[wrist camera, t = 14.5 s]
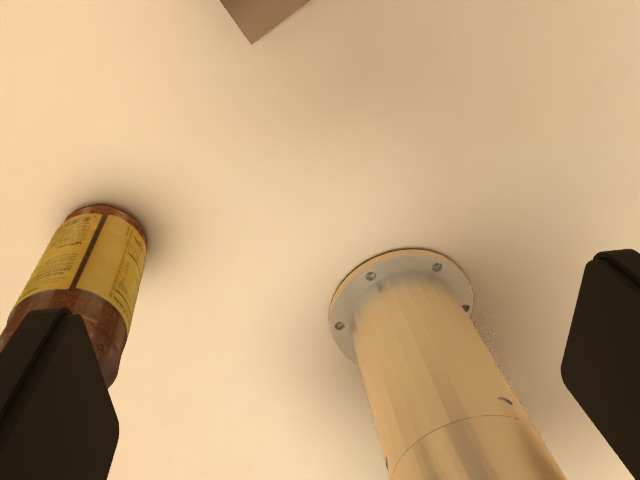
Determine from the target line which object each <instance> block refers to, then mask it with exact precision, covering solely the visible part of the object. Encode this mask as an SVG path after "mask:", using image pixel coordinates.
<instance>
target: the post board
mask: <svg viewBox="0 0 640 480" xmlns="http://www.w3.org/2000/svg"><path fill="white" fill-rule="evenodd" d="M220 1H221V3H222V4H223V6H224V7H225V8H226V10H227V11H228V13H229V14H230V15H231V17H232V18H233V20H234V21H235V22H236V24H237V25H238V27H239V28H240V29H241V31H242V32H243V34H244V35H245V37H246V38H247V39H248V41H249V42H250V44H251V45H252V44H253V43H254V42H256V41H257V40H258V39H260V38H261V37H262V36H264V35H265V34H266V33H268V32H269V31H270V30H271V29H273V28H274V27H275V26H277V25H278V24H279V23H281V22H282V21H283V20H285V19H286V18H287V17H289V16H290V15H291V14H292V13H294V12H295V11H296V10H298V9H299V8H300V7H302V6H303V5H304V4H306V3H307V2H308V1H310V0H220Z"/></svg>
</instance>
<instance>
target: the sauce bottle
mask: <svg viewBox="0 0 640 480" xmlns="http://www.w3.org/2000/svg"><path fill="white" fill-rule="evenodd" d="M145 261H146V241H145V237H144V234H143V232H142V229H141V227H140V225H139V224H138V222H137V221H136V220H135V219H133V218H132V217H130V216H129V215H128V214H126V213H124V212H122V211H120V210H117V209H114V208H112V207H109V206H101V205H95V206H88V207H86V208H83V209H79V210H77V211H75V212H73V213H72V214H70V215H69V216H68V217H67V218H66V220H65V222H64V223H63V224H62V225H61V226H60V227H59V228H58V229H57V231H56V232H55V234H54V236H53V237H52V239H51V241H50V243H49V244H48V246H47V248H46V250H45V252H44V254H43V255H42V257H41V259H40V261H39V263H38V264H37V266H36V268H35V270H34V272H33V273H32V275H31V277H30V279H29V281H28V283H27V284H26V286H25V288H24V290H23V292H22V293H21V295H20V297H19V299H18V300H17V302H16V304H15V306H14V307H13V309H12V311H11V313H10V315H9V317H8V320H7V325H6V327H5V329H4V330H3V332H2V334H1V336H0V353H1V351H2V350H3V348H4V347H5V345H6V344H7V342H8V341H9V339H10V338H11V336H12V335H13V333H14V332H15V331H16V329H17V328H18V326H19V325H20V323H21V322H22V320H23V319H24V317H25V316H26V314H27V313H28V312H29V311H32V310H38V309H48V308H57V307H67V308H69V309H70V311H71V312H72V314H80V315H81V316H82V318H83V320H84V323H85V326H86V329H87V331H88V334H89V337H90V340H91V343H92V346H93V349H94V352H95V355H96V358H97V360H98V363H99V366H100V369H101V372H102V375H103V378H104V381H105V384H106V387H107V389H108V388H109V387H110V386H111V385H112V384H113V382H114V381H115V379H116V377H117V374H118V369H119V364H120V359H121V355H122V352H123V350H124V347H125V344H126V341H127V337H128V334H129V330H130V325H131V321H132V317H133V312H134V308H135V304H136V300H137V295H138V291H139V286H140V282H141V278H142V274H143V270H144V265H145Z"/></svg>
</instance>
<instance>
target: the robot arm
mask: <svg viewBox="0 0 640 480" xmlns="http://www.w3.org/2000/svg"><path fill="white" fill-rule="evenodd" d="M472 311H473V293H472V288H471V286H470V284H469V282H468V280H467V278H466V276H465V275H464V273H463V272H462V271H461V269H460V268H459V267H458V266H457V265H456V264H455V263H454V262H452V261H451V260H449V259H448V258H446V257H444V256H442V255H440V254H437V253H434V252H431V251H425V250H417V249H412V250H399V251H394V252H390V253H386V254H383V255H381V256H378V257H375V258H373V259H371V260H369V261H368V262H366V263H364V264H362V265H361V266H359V267H358V268H357V269H356V270H354V271H353V272H352V273H351V274H349V276H348V277H347V278H346V279H345V280H344V281H343V282H342V283H341V285H340V286H339V288H338V290H337V291H336V293H335V295H334V297H333V300H332V303H331V306H330V312H329V322H330V329H331V333H332V336H333V340H334V341H335V343H336V345H337V347H338V349H339V350H340V351H341V352H342V353H343V354H344V355H345V356H346V357H348V358H349V359H351V360H352V361H353V362H355V363H357V364H359V367H360V371H361V374H362V378H363V382H364V385H365V389H366V393H367V396H368V400H369V404H370V407H371V411H372V415H373V418H374V422H375V425H376V429H377V433H378V436H379V440H380V444H381V447H382V451H383V455H384V459H385V462H386V466H387V470H388V473H389V476H390V480H567V479H566V477H565V476H564V474H563V472H562V471H561V469H560V468H559V466H558V464H557V463H556V461H555V459H554V458H553V456H552V455H551V453H550V451H549V450H548V448H547V446H546V445H545V443H544V441H543V440H542V438H541V436H540V435H539V433H538V431H537V430H536V428H535V427H534V425H533V423H532V422H531V420H530V418H529V417H528V415H527V413H526V412H525V410H524V408H523V407H522V405H521V403H520V402H519V400H518V398H517V397H516V395H515V393H514V392H513V390H512V388H511V387H510V385H509V383H508V382H507V380H506V379H505V377H504V375H503V374H502V372H501V370H500V369H499V367H498V365H497V364H496V362H495V360H494V359H493V357H492V355H491V354H490V352H489V350H488V349H487V347H486V345H485V344H484V342H483V340H482V339H481V337H480V335H479V334H478V332H477V331H476V329H475V327H474V326H473V324H472V322H471V321H470V318H471V314H472ZM561 376H562V379H563V382H564V384H565V386H566V387H567V389H568V390H569V391H570V393H571V394H572V395H573V397H574V398H575V399H576V401H577V402H578V403H579V405H580V406H581V407H582V409H583V410H584V411H585V413H586V414H587V415H588V417H589V418H590V419H591V421H592V422H593V423H594V425H595V426H596V427H597V429H598V430H599V431H600V433H601V434H602V435H603V437H604V438H605V439H606V441H607V442H608V443H609V445H610V446H611V447H612V449H613V450H614V451H615V453H616V454H617V455H618V457H619V458H620V459H621V461H622V462H623V464H624V465H625V466H626V468H627V469H628V470H629V472H630V473H631V474H632V476H633V477H634V478H635V480H640V254H639V253H638V252H637V251H635V250H633V249H623V250H613V251H604V252H599V253H597V254H596V255H595V256H594V258H593V260H591V261H589V262H588V263H587V264H586V267H585V270H584V274H583V278H582V282H581V286H580V290H579V295H578V299H577V303H576V307H575V311H574V315H573V319H572V323H571V327H570V332H569V336H568V340H567V344H566V348H565V352H564V356H563V360H562V364H561ZM118 438H119V422H118V419H117V416H116V413H115V410H114V407H113V404H112V401H111V398H110V395H109V392H108V389H107V387H106V384H105V381H104V378H103V375H102V372H101V369H100V366H99V363H98V360H97V358H96V355H95V352H94V349H93V346H92V343H91V340H90V337H89V334H88V331H87V329H86V326H85V323H84V320H83V318H82V316H81V315H80V314H72V312H71V311H70V309H69V308H67V307H57V308H48V309H38V310H32V311H29V312H28V313H27V314H26V316H25V317H24V319H23V320H22V322H21V323H20V325H19V326H18V328H17V329H16V331H15V332H14V333H13V335H12V336H11V338H10V339H9V341H8V342H7V344H6V345H5V347H4V348H3V350H2V351H1V353H0V480H107V477H108V473H109V470H110V466H111V463H112V460H113V456H114V453H115V450H116V446H117V443H118Z"/></svg>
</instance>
